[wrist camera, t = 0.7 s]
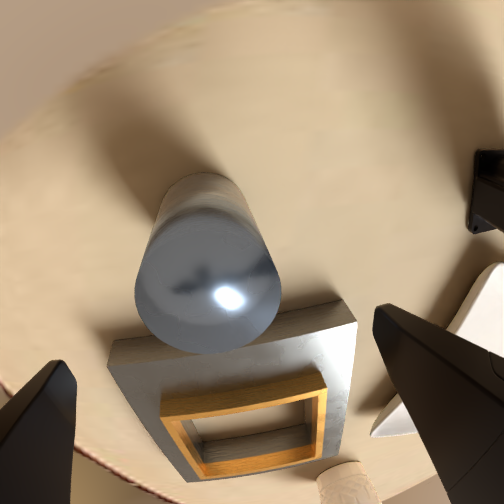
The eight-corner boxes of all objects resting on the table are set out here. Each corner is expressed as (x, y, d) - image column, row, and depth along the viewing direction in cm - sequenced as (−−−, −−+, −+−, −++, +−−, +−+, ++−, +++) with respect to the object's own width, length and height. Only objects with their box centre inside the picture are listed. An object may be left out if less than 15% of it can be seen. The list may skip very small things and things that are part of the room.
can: (241, 165, 17) (274, 217, 9) (253, 247, 19) (286, 340, 12) (151, 182, 16) (115, 247, 9) (171, 262, 18) (158, 362, 11)
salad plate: (355, 418, 30) (366, 442, 27) (474, 242, 22) (501, 261, 19) (460, 408, 36) (471, 424, 33) (546, 287, 28) (562, 301, 25)
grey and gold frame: (343, 299, 21) (367, 336, 18) (331, 436, 30) (342, 466, 27) (113, 340, 20) (102, 383, 17) (185, 463, 29) (187, 494, 25)
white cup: (353, 477, 38) (373, 528, 30) (305, 487, 37) (322, 543, 28) (373, 453, 35) (398, 511, 26) (321, 465, 34) (342, 529, 25)
